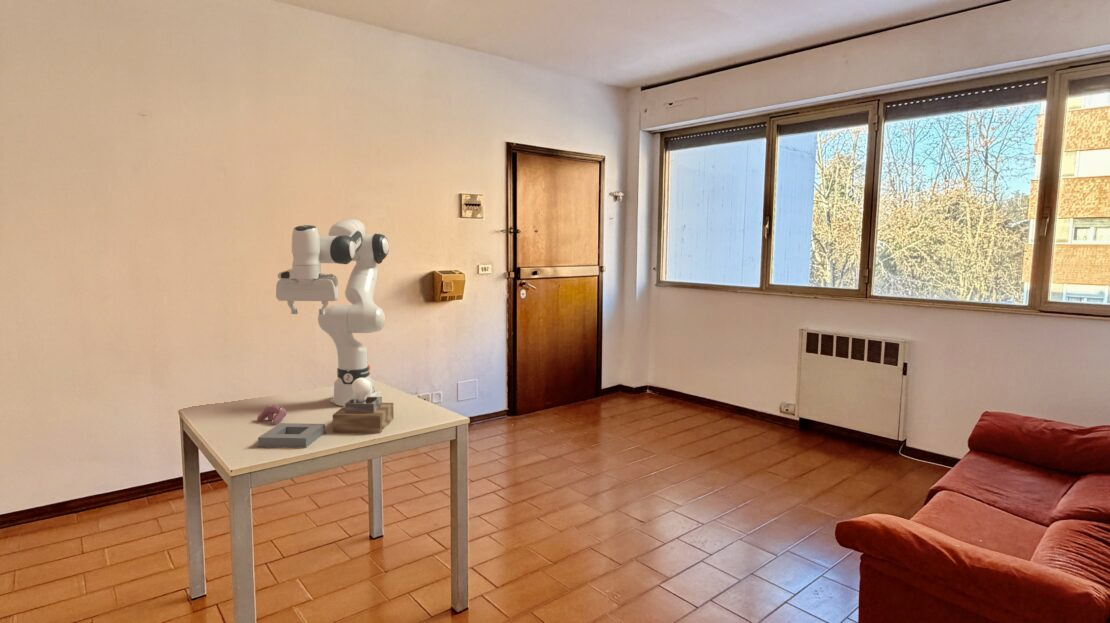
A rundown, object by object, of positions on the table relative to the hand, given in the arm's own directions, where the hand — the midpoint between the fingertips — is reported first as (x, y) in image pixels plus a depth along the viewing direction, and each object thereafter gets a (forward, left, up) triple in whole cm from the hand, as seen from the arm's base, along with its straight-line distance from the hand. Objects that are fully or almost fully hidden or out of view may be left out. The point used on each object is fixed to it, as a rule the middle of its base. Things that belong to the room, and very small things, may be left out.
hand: (308, 314), depth 204 cm
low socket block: (+15, 0, -39) cm, 42 cm away
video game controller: (-4, -16, -39) cm, 43 cm away
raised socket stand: (-1, +18, -39) cm, 43 cm away
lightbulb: (-1, +17, -33) cm, 38 cm away
